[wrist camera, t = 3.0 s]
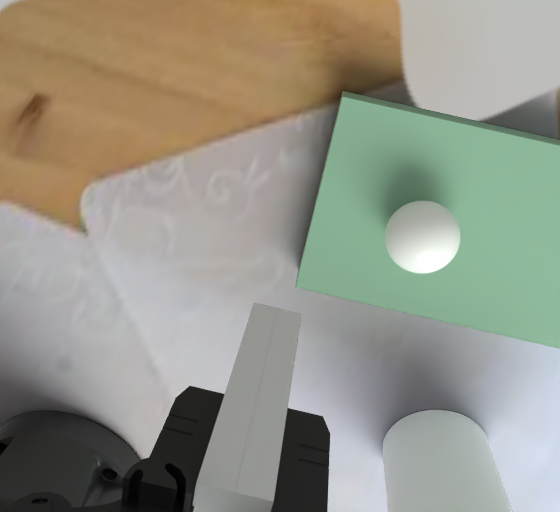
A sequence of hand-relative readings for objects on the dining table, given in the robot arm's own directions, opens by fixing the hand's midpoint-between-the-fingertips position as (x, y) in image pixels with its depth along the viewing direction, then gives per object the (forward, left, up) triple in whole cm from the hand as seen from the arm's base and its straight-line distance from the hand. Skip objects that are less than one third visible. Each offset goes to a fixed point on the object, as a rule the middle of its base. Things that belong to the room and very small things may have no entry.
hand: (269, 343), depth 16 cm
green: (+16, 0, -17) cm, 23 cm away
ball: (+7, 0, -13) cm, 15 cm away
